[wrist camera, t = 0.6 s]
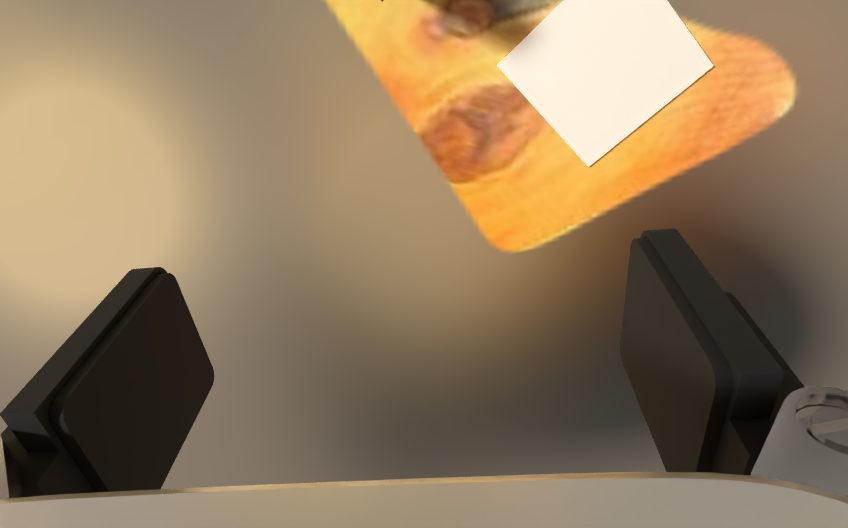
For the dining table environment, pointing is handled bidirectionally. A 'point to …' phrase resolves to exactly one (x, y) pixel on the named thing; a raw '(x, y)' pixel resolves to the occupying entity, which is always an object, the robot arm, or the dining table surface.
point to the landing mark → (604, 68)
